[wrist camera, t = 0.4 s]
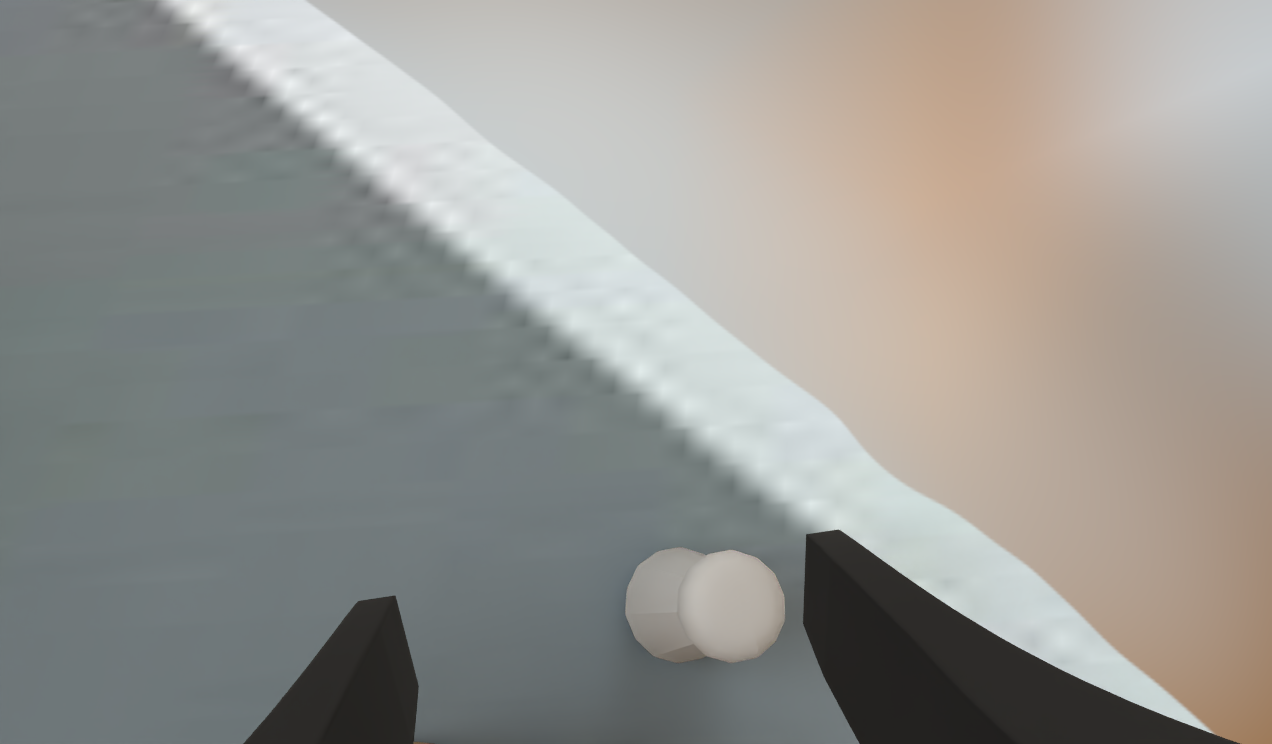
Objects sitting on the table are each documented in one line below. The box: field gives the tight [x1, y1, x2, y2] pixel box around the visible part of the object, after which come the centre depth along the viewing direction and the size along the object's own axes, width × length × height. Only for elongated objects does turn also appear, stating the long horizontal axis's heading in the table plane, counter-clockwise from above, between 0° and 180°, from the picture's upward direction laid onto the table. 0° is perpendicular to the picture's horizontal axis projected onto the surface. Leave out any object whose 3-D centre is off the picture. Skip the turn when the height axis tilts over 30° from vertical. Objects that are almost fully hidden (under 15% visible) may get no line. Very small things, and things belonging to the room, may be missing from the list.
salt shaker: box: [625, 547, 785, 663], centre depth 33 cm, size 6×6×13 cm
